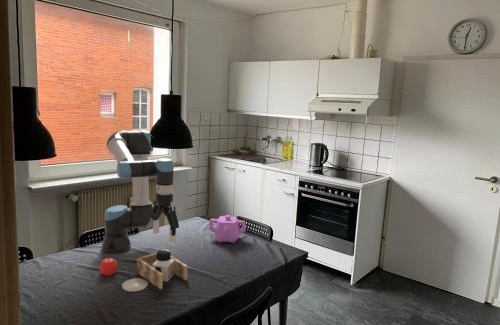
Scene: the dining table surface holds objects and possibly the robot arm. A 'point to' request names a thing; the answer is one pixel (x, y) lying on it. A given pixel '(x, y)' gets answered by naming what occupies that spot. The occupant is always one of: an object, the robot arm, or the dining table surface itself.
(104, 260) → the apple
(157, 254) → the container
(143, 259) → the tan open-ended frame
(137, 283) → the trivet
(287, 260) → the dining table surface
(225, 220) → the teapot
